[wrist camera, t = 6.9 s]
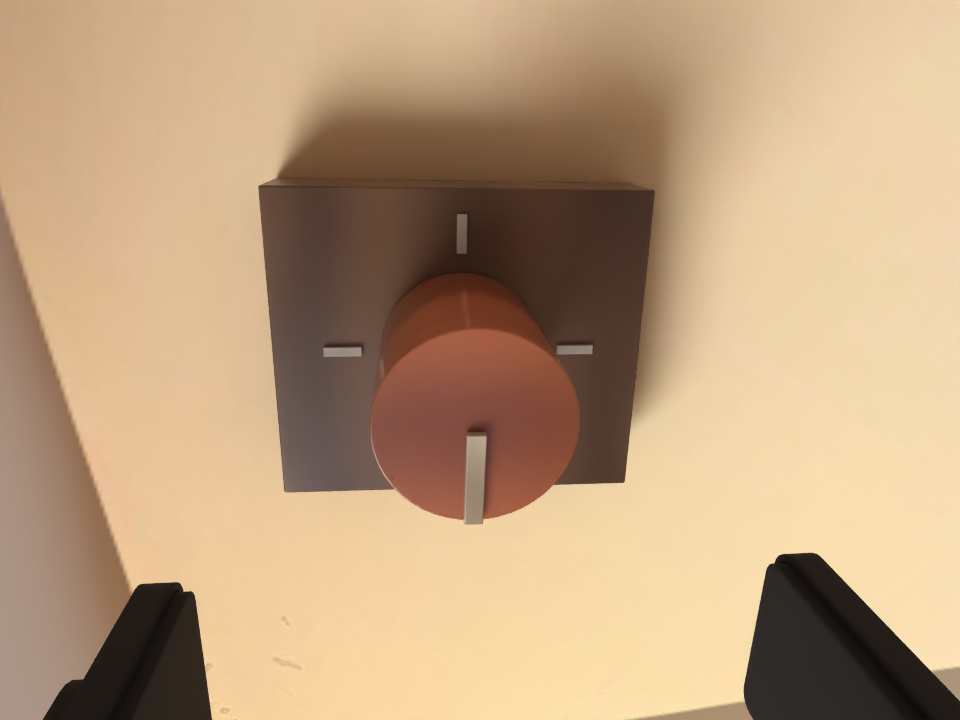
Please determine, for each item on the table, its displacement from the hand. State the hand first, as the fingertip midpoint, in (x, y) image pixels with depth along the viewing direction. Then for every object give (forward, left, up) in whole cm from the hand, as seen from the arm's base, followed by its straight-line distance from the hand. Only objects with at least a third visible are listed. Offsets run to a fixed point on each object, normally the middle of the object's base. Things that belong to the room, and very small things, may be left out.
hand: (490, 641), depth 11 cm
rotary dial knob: (+1, 0, -16) cm, 16 cm away
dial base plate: (+1, 0, -19) cm, 19 cm away
